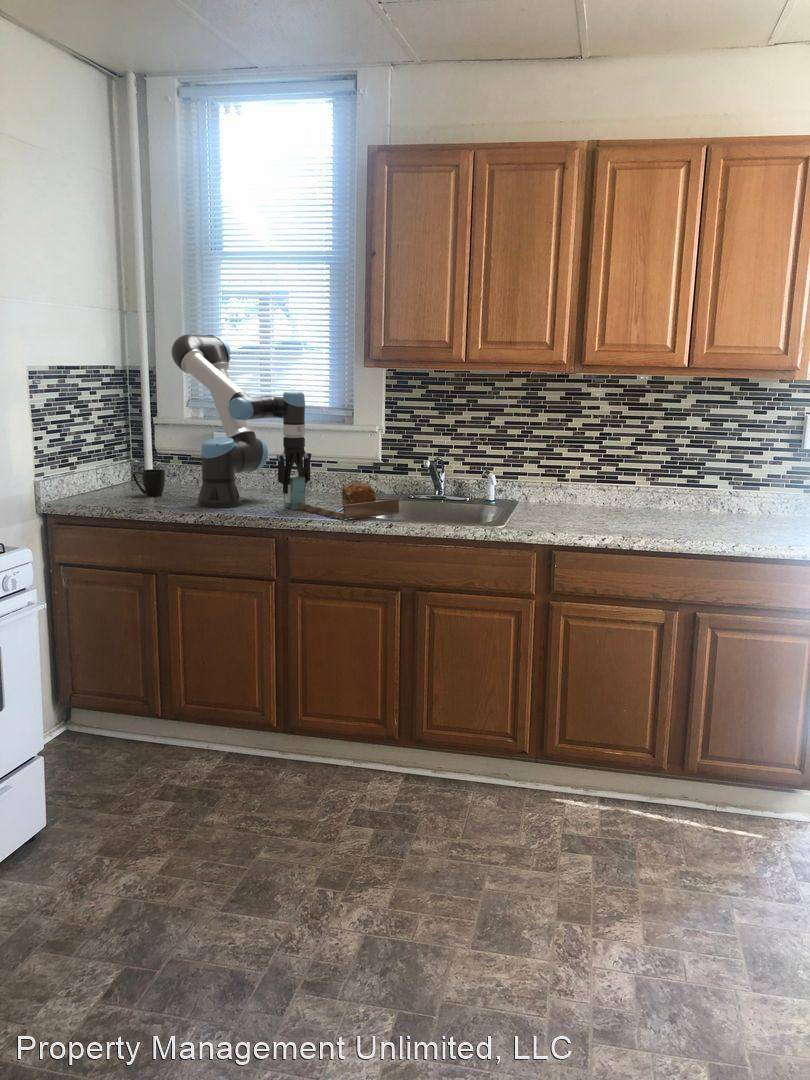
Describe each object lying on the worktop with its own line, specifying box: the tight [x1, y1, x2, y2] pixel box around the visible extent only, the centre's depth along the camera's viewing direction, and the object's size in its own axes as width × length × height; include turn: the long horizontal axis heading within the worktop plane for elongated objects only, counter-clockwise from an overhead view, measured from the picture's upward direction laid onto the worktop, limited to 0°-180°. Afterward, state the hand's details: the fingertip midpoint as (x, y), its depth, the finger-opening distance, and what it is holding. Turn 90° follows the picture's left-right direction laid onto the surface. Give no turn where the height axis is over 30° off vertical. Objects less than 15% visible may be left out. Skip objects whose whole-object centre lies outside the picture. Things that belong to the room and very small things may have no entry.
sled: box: [283, 474, 400, 519], centre depth 322 cm, size 33×26×11 cm
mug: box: [132, 468, 166, 498], centre depth 345 cm, size 8×12×10 cm
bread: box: [341, 481, 377, 506], centre depth 323 cm, size 19×11×10 cm, turn 8°
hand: (294, 501), depth 326 cm, fingers closed on sled, 5 cm apart
